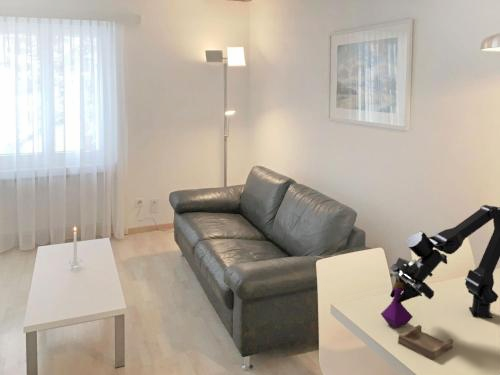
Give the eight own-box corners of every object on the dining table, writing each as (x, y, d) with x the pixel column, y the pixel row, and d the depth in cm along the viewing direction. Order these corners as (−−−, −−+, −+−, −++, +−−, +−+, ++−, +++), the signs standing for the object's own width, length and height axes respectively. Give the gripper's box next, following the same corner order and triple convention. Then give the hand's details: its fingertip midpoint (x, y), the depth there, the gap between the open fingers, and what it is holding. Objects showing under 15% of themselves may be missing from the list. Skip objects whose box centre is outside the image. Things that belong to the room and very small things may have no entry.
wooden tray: (418, 331, 160) (418, 324, 160) (452, 347, 151) (453, 340, 150) (398, 343, 154) (398, 335, 153) (432, 359, 144) (433, 352, 144)
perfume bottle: (413, 326, 163) (412, 273, 161) (395, 330, 160) (393, 276, 158) (398, 318, 169) (397, 268, 168) (380, 323, 167) (379, 271, 165)
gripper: (396, 241, 169) (366, 274, 168) (428, 260, 151) (394, 297, 151) (415, 260, 172) (385, 292, 172) (448, 281, 154) (415, 317, 154)
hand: (394, 299), depth 162 cm, fingers closed on perfume bottle, 4 cm apart
